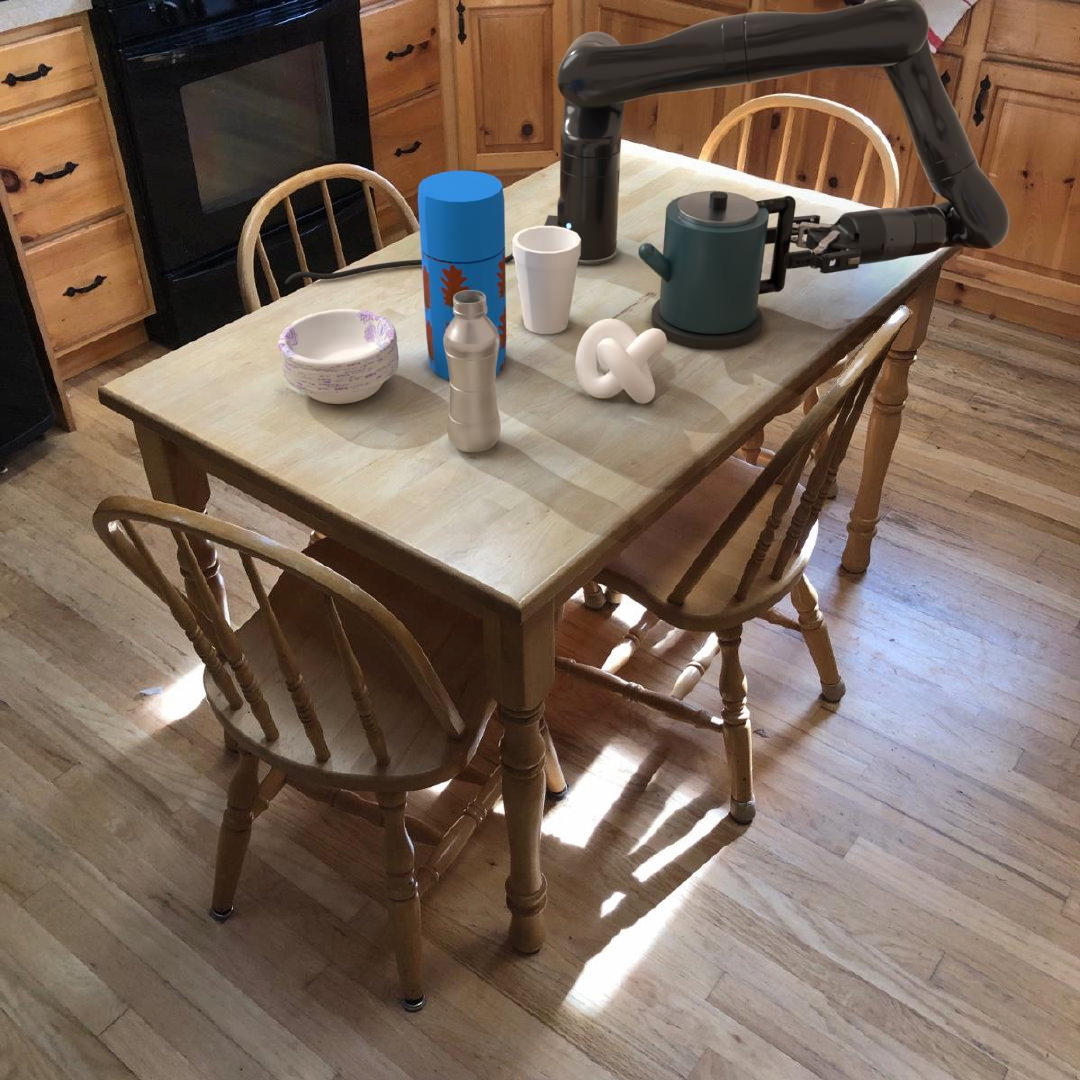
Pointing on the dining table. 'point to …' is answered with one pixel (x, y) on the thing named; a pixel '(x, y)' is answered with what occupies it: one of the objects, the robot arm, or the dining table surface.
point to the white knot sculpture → (618, 360)
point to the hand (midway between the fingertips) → (772, 248)
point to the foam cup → (546, 275)
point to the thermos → (461, 253)
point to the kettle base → (706, 340)
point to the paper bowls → (339, 354)
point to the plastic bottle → (472, 374)
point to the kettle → (718, 259)
